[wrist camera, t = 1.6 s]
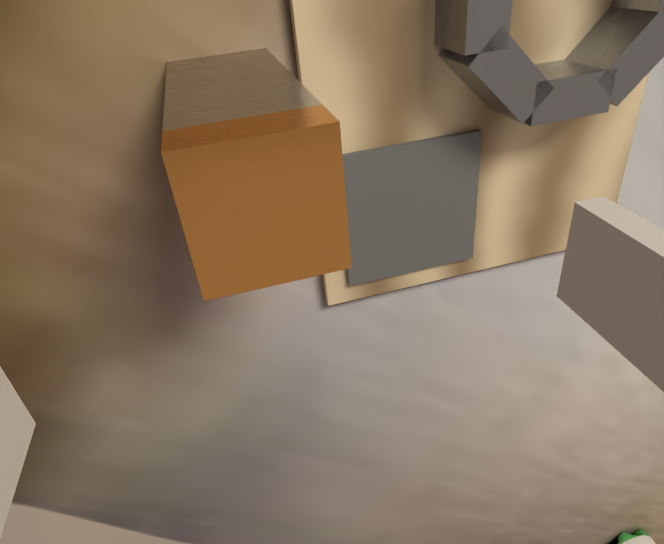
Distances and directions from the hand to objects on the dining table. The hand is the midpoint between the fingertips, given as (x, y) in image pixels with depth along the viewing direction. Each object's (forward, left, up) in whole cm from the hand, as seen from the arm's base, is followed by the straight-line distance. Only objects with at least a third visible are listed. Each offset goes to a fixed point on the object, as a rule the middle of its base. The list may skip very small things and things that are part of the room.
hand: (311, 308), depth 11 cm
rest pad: (+10, -8, -18) cm, 22 cm away
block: (0, 0, -19) cm, 19 cm away
